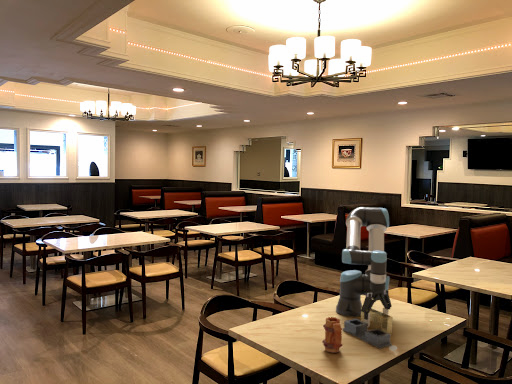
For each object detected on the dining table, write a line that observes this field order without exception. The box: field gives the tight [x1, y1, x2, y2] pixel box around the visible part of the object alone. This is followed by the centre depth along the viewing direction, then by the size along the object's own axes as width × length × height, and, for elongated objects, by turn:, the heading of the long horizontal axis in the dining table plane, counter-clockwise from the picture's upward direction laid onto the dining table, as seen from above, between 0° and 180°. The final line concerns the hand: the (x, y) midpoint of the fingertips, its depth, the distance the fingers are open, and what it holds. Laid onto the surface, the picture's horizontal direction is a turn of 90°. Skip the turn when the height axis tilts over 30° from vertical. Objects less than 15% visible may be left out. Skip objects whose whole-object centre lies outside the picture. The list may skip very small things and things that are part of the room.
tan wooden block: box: [360, 307, 394, 336], centre depth 210 cm, size 18×4×9 cm, turn 31°
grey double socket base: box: [342, 318, 392, 350], centre depth 200 cm, size 24×8×5 cm, turn 31°
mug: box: [321, 316, 343, 353], centre depth 182 cm, size 15×8×15 cm, turn 5°
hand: (376, 323), depth 210 cm, fingers open, 12 cm apart
